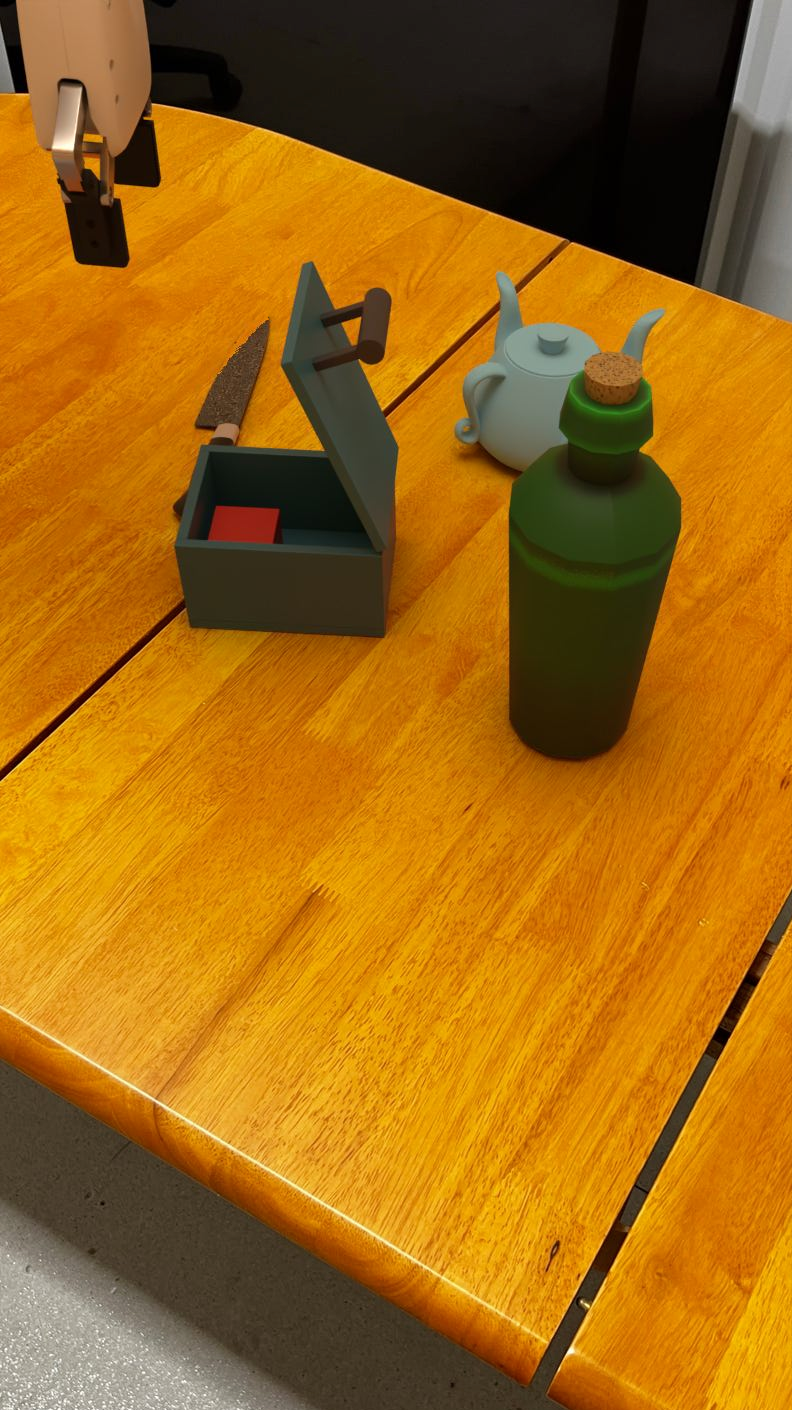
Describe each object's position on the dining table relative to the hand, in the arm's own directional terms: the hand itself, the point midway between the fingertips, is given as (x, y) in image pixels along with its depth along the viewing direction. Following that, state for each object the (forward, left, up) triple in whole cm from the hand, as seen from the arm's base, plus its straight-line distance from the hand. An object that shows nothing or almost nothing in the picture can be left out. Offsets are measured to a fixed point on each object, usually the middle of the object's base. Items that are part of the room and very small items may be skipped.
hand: (120, 222), depth 82 cm
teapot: (+29, +17, -26) cm, 43 cm away
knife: (+1, +18, -26) cm, 32 cm away
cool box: (+9, -3, -26) cm, 28 cm away
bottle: (+30, -16, -26) cm, 43 cm away
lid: (+14, -3, -11) cm, 18 cm away
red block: (+6, -3, -25) cm, 26 cm away
